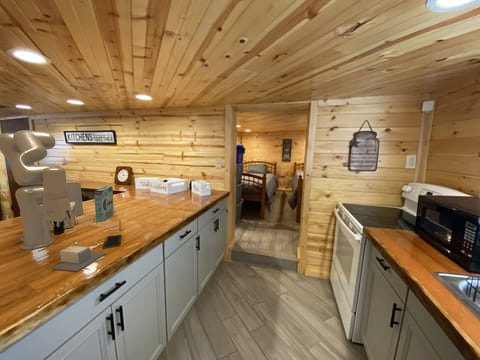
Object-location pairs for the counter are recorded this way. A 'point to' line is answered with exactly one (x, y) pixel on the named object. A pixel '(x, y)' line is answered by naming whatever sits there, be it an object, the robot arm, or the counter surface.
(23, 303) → the counter surface
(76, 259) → the block
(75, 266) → the mat
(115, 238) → the phone
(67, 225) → the storage basket
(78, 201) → the tall grey box
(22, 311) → the counter surface
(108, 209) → the teal rectangular box
